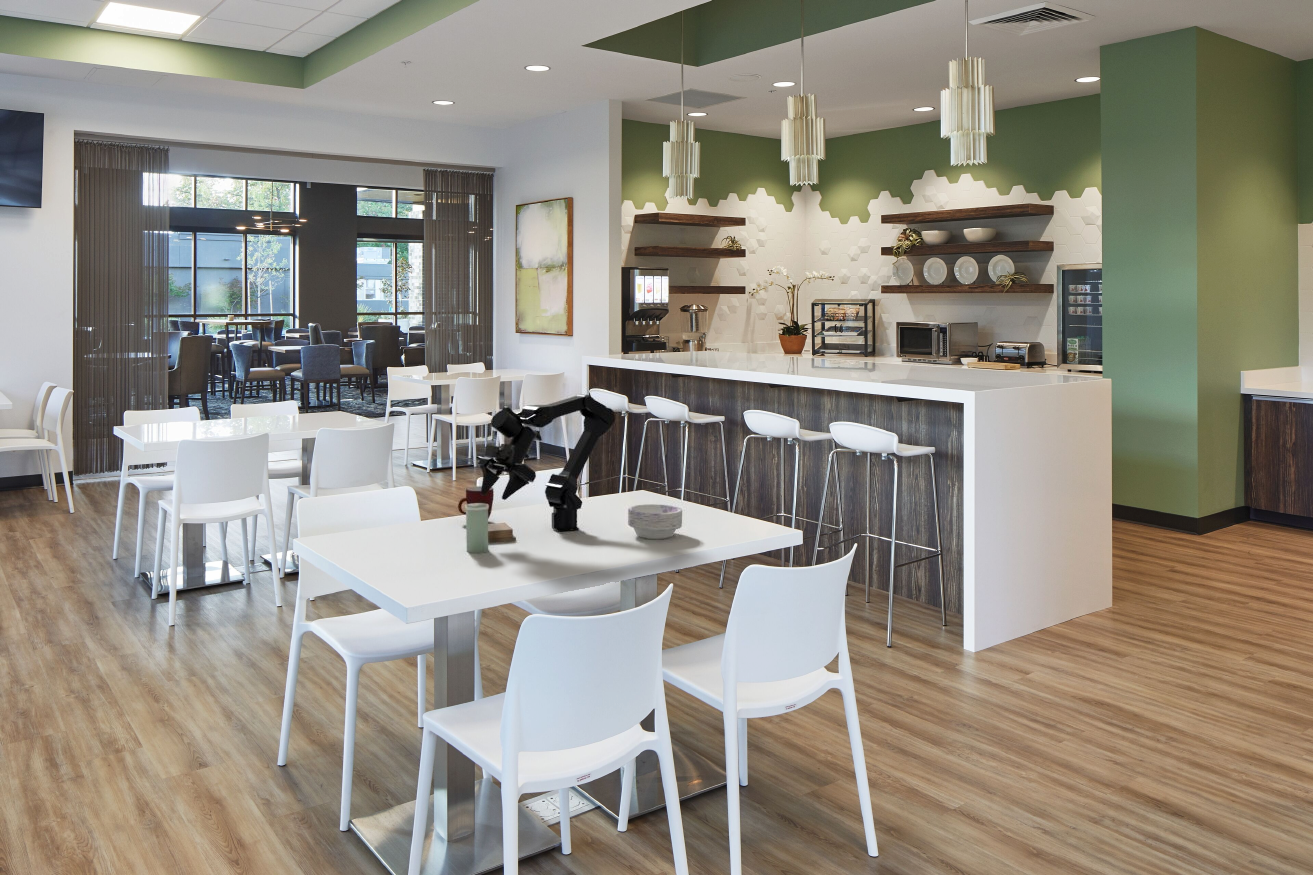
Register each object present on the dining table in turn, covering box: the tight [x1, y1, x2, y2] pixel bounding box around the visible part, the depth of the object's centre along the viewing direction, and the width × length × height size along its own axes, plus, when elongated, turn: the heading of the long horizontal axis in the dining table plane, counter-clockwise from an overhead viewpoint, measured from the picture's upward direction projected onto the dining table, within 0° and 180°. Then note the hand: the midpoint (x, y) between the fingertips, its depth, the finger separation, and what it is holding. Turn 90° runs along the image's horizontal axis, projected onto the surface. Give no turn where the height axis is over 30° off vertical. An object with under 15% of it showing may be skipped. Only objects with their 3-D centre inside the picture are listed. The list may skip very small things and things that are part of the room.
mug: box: [457, 485, 495, 520], centre depth 294 cm, size 11×8×10 cm
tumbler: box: [464, 503, 489, 554], centre depth 260 cm, size 6×6×12 cm
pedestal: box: [488, 522, 517, 544], centre depth 275 cm, size 10×10×3 cm
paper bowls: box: [627, 503, 683, 540], centre depth 278 cm, size 15×15×8 cm
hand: (492, 496), depth 267 cm, fingers open, 9 cm apart
